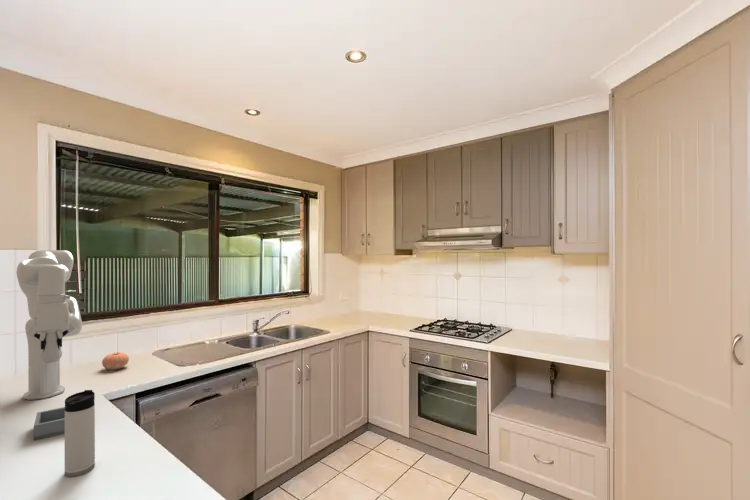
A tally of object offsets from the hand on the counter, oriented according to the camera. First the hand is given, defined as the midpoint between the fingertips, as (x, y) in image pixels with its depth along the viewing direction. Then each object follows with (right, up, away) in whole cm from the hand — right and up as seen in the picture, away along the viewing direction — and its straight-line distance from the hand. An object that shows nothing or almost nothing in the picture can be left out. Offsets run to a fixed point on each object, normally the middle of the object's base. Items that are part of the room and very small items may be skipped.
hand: (51, 349), depth 134 cm
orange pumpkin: (-10, -22, +48) cm, 54 cm away
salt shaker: (0, -4, 0) cm, 4 cm away
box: (+14, -22, -13) cm, 29 cm away
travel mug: (+39, -22, -36) cm, 58 cm away
